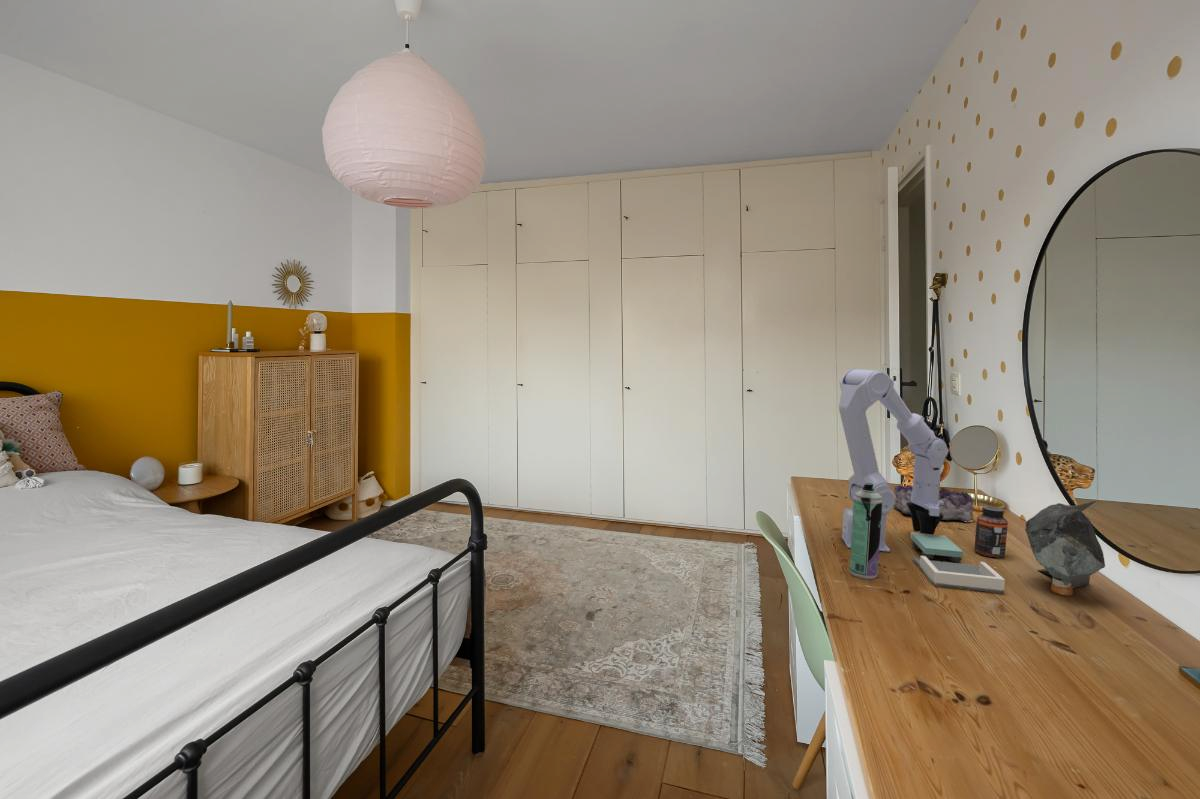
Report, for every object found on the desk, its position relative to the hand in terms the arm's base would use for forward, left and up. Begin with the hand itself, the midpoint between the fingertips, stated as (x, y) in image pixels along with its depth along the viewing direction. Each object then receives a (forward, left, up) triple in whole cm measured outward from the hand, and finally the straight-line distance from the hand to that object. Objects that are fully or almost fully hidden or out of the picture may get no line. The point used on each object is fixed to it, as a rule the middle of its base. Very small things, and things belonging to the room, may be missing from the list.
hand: (922, 535), depth 134 cm
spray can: (-19, -26, -2) cm, 32 cm away
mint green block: (0, -10, -2) cm, 10 cm away
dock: (0, -21, -2) cm, 21 cm away
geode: (+10, +25, -2) cm, 27 cm away
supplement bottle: (+13, -5, -2) cm, 14 cm away
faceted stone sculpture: (+19, -22, -2) cm, 29 cm away
